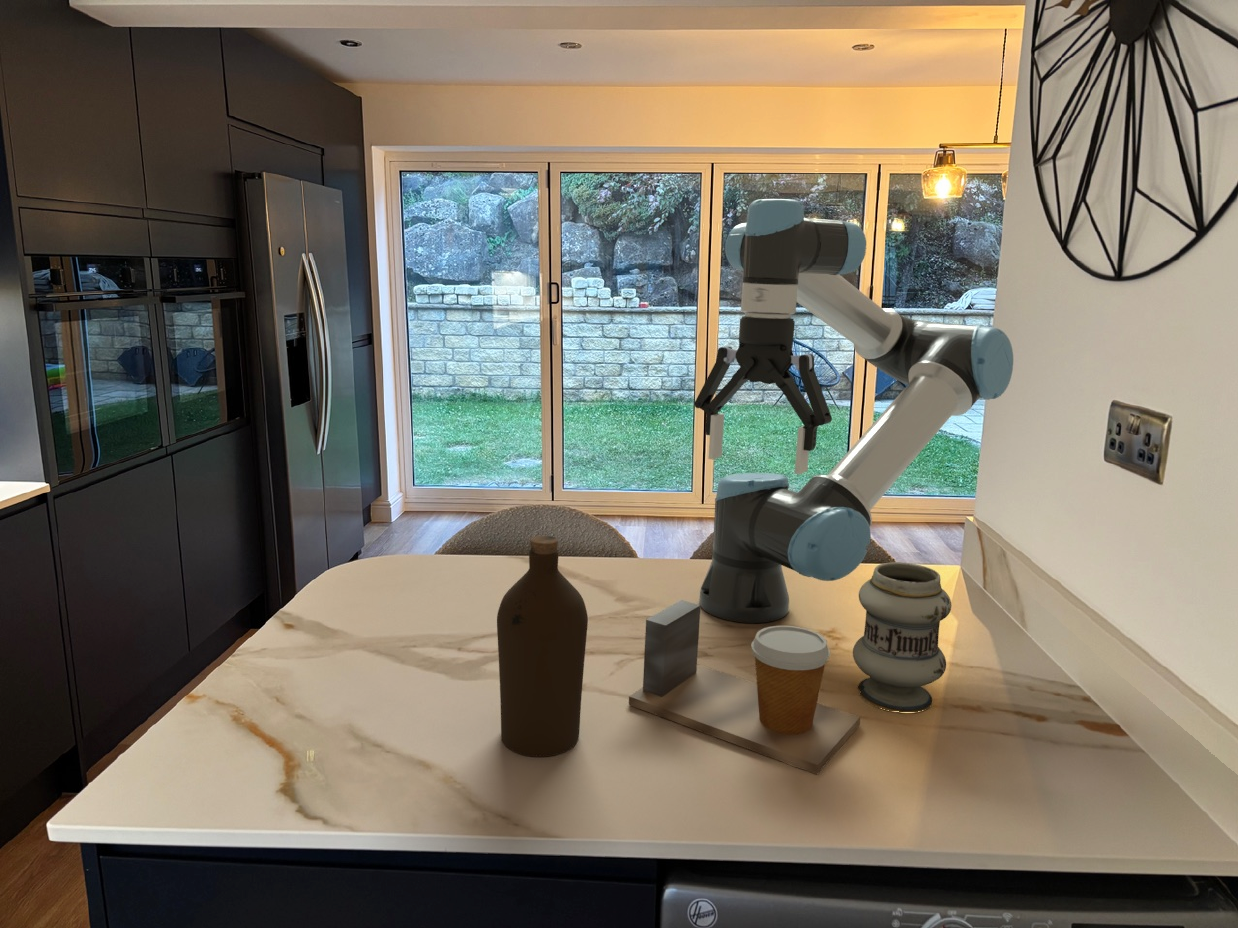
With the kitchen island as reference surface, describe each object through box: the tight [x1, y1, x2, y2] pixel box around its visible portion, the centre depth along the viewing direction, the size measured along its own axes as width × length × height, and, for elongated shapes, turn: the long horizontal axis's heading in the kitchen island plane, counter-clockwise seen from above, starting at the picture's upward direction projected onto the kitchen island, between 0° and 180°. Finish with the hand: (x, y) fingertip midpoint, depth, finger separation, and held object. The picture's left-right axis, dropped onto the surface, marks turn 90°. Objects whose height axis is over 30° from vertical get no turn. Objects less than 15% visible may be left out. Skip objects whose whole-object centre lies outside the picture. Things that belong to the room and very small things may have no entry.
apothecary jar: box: [852, 561, 952, 712], centre depth 117 cm, size 12×12×18 cm
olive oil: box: [496, 535, 589, 758], centre depth 103 cm, size 11×11×25 cm
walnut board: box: [628, 599, 861, 775], centre depth 111 cm, size 26×14×11 cm, turn 55°
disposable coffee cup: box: [750, 625, 831, 734], centre depth 108 cm, size 10×10×12 cm
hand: (756, 465), depth 126 cm, fingers open, 13 cm apart
